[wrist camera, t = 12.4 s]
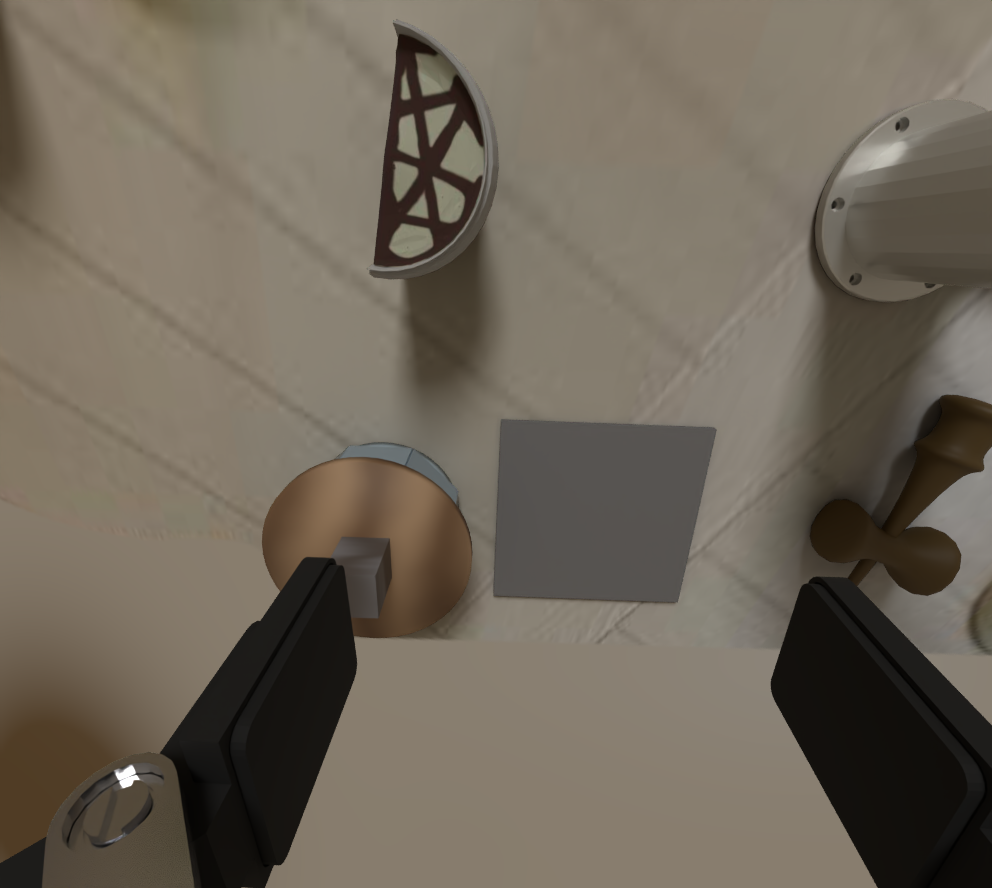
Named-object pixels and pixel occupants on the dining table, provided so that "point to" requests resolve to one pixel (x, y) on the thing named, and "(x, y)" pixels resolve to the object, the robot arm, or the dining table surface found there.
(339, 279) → the dining table surface
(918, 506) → the kendama
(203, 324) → the dining table surface
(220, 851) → the robot arm
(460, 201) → the food container
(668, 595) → the mat
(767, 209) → the dining table surface
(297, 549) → the lid
